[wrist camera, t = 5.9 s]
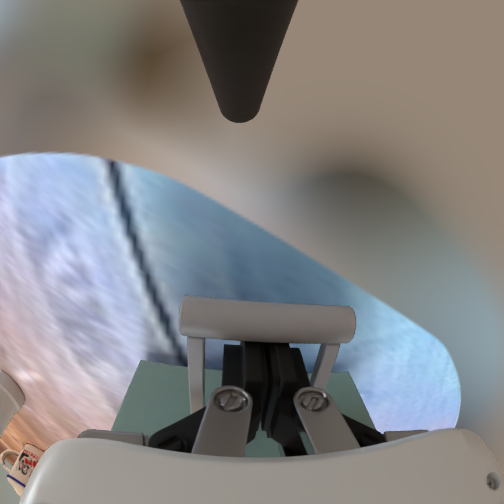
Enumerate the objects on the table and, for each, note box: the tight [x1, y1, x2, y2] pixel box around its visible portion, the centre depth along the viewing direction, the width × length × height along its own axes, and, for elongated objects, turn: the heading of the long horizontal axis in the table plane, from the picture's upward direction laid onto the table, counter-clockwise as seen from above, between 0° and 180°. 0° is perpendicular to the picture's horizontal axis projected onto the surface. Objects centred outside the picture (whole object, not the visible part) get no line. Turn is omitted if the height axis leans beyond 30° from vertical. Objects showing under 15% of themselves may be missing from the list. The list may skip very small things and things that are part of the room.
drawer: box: [111, 295, 376, 457], centre depth 13 cm, size 22×13×7 cm, turn 174°
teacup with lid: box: [0, 444, 44, 497], centre depth 18 cm, size 12×9×12 cm
